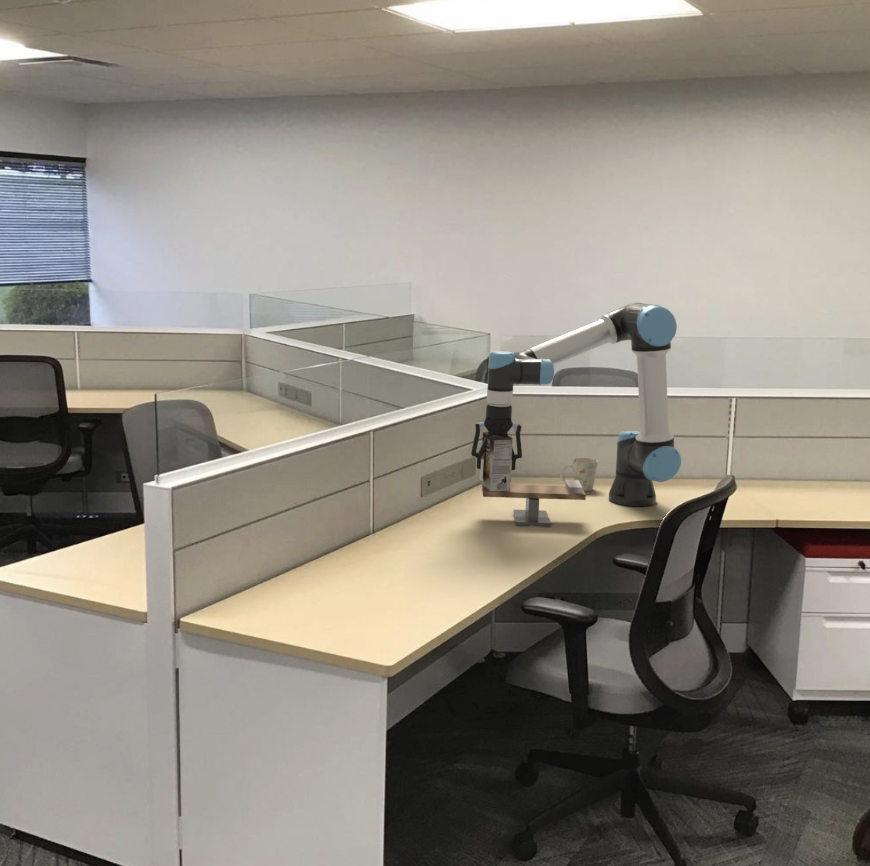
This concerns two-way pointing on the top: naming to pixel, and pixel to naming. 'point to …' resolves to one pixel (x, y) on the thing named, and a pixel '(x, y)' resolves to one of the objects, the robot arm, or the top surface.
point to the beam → (541, 491)
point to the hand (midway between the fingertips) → (495, 480)
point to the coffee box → (497, 463)
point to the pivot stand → (531, 515)
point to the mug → (582, 472)
